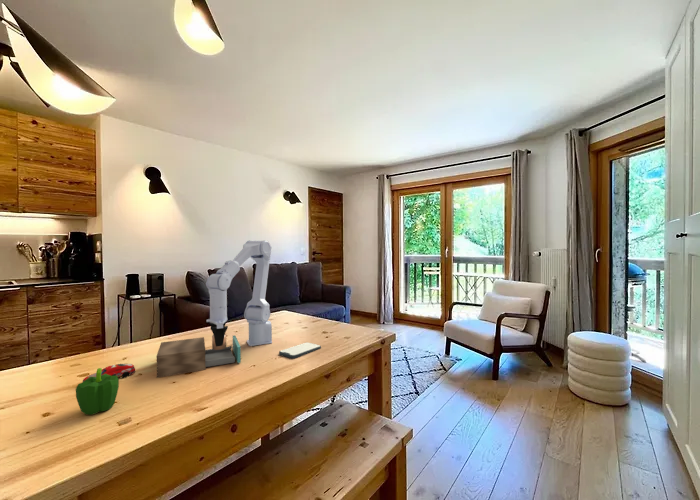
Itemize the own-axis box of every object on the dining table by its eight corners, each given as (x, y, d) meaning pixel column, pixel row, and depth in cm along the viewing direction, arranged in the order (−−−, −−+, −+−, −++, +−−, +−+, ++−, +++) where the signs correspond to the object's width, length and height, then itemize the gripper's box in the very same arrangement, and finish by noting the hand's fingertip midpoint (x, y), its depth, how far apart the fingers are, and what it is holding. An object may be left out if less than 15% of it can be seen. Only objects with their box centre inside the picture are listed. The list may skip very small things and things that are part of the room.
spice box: (204, 354, 118) (203, 337, 118) (205, 369, 104) (205, 349, 104) (161, 361, 112) (161, 342, 112) (156, 377, 98) (156, 356, 98)
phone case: (306, 345, 131) (277, 355, 118) (306, 341, 131) (277, 351, 118) (322, 349, 126) (293, 360, 113) (322, 345, 126) (293, 356, 113)
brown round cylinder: (226, 345, 116) (226, 332, 116) (226, 348, 112) (226, 336, 112) (212, 346, 115) (212, 334, 115) (211, 350, 110) (211, 337, 110)
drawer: (235, 349, 123) (235, 335, 123) (240, 362, 109) (240, 346, 109) (196, 355, 117) (196, 340, 117) (197, 370, 103) (197, 352, 103)
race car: (84, 390, 90) (84, 376, 90) (80, 384, 94) (80, 371, 94) (137, 375, 100) (137, 362, 100) (131, 370, 104) (131, 359, 104)
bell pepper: (108, 416, 75) (107, 375, 75) (68, 420, 73) (68, 379, 73) (125, 400, 83) (125, 363, 83) (90, 403, 82) (90, 365, 82)
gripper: (205, 304, 118) (205, 339, 118) (207, 311, 105) (207, 351, 105) (225, 302, 121) (225, 337, 121) (229, 309, 108) (229, 348, 108)
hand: (218, 343), depth 113 cm, fingers closed on brown round cylinder, 5 cm apart
